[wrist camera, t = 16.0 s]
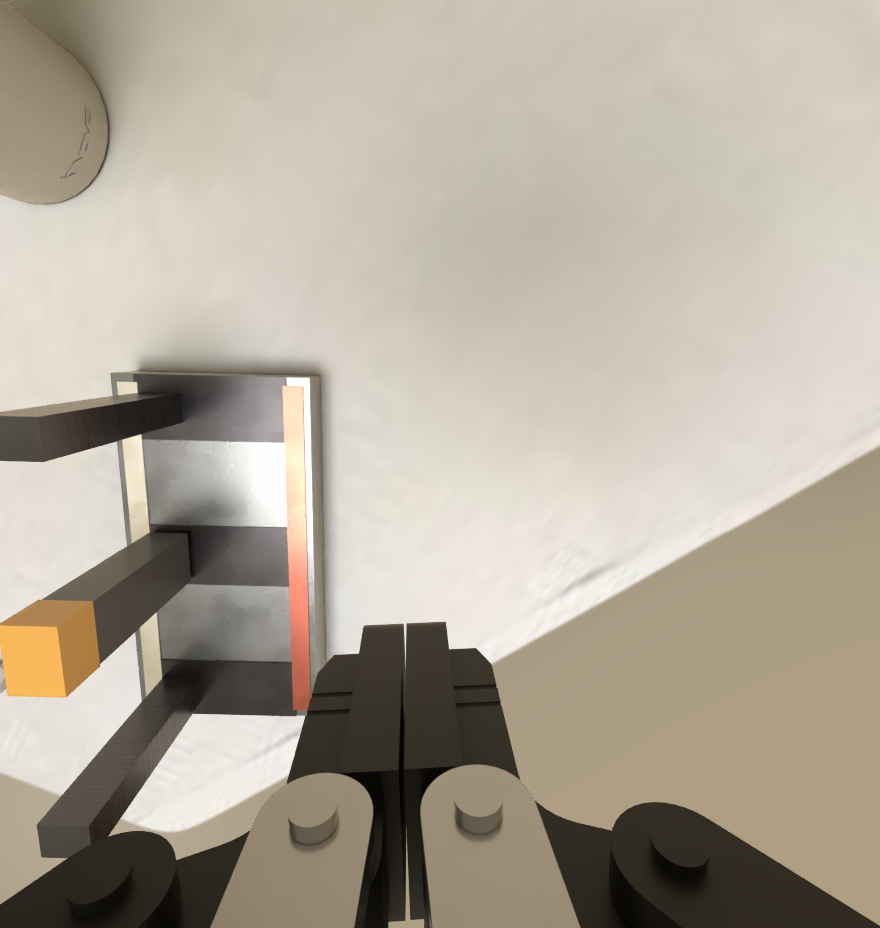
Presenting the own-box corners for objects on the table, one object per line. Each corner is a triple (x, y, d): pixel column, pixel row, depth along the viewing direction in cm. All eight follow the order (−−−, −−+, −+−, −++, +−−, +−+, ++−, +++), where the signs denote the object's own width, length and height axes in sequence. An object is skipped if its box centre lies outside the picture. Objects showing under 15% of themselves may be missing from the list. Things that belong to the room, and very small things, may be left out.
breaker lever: (153, 580, 36) (7, 695, 24) (148, 531, 35) (-3, 625, 23) (191, 581, 36) (66, 697, 24) (188, 532, 35) (57, 626, 23)
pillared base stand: (164, 685, 41) (6, 875, 26) (137, 371, 36) (-75, 385, 21) (326, 689, 41) (259, 882, 26) (320, 375, 36) (235, 393, 21)
